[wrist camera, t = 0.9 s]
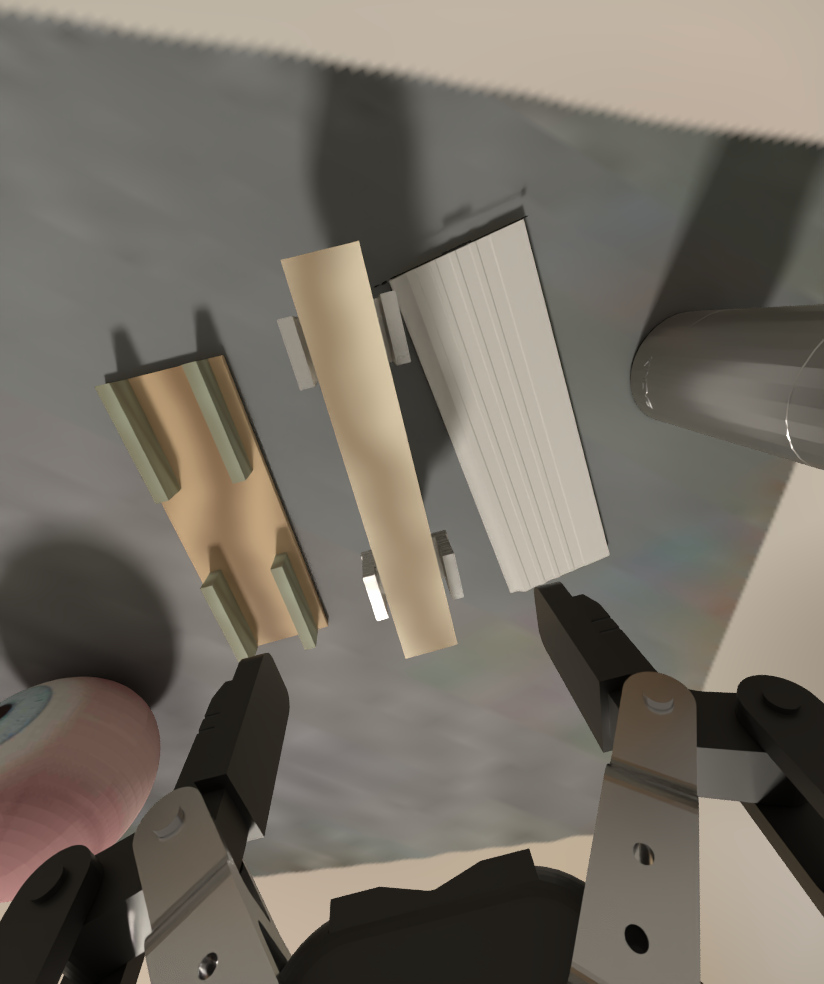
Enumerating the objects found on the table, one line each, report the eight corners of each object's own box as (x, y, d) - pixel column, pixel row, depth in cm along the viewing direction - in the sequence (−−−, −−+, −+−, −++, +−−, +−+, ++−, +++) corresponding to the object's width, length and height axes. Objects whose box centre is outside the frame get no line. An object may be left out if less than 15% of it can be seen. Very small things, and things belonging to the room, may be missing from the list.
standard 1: (383, 302, 31) (397, 289, 21) (395, 351, 33) (413, 361, 23) (301, 323, 31) (274, 320, 21) (316, 371, 33) (298, 390, 22)
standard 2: (428, 492, 37) (455, 552, 27) (436, 526, 39) (465, 596, 29) (359, 510, 37) (361, 578, 27) (370, 544, 39) (375, 621, 28)
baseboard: (494, 593, 43) (601, 547, 43) (503, 611, 41) (617, 562, 40) (369, 289, 31) (515, 222, 31) (371, 285, 29) (530, 212, 28)
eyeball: (129, 618, 38) (1, 781, 24) (213, 723, 44) (148, 903, 30) (-20, 675, 39) (-231, 869, 25) (83, 772, 44) (-40, 974, 30)
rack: (223, 354, 31) (210, 357, 28) (328, 622, 41) (326, 644, 38) (105, 384, 31) (79, 390, 28) (239, 646, 41) (230, 670, 38)
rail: (358, 257, 23) (358, 240, 19) (444, 602, 32) (457, 644, 28) (294, 273, 23) (280, 260, 19) (399, 615, 32) (405, 658, 28)
